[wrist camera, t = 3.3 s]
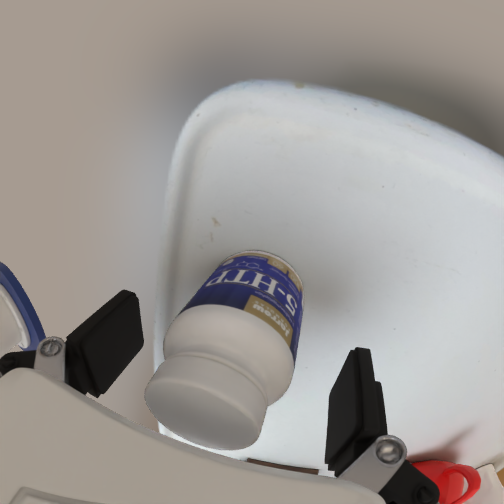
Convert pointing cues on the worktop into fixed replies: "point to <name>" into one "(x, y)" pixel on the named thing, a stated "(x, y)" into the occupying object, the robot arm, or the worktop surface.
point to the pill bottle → (230, 352)
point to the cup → (486, 487)
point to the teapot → (451, 480)
